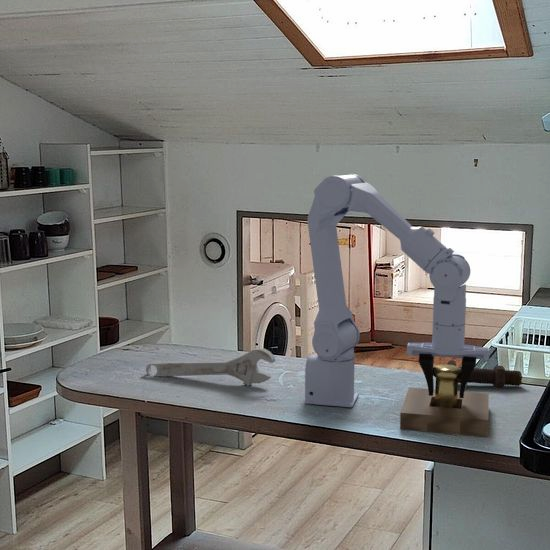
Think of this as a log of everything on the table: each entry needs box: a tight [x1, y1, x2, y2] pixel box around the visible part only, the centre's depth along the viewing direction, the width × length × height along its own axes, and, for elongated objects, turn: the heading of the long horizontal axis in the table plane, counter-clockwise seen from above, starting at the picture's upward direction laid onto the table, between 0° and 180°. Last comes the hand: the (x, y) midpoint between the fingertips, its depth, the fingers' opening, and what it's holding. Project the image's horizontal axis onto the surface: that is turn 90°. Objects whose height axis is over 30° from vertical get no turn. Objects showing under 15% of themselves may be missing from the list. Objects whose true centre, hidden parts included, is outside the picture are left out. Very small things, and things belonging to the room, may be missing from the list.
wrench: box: [145, 347, 276, 387], centre depth 168 cm, size 8×2×30 cm
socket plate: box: [399, 386, 490, 437], centre depth 145 cm, size 15×15×3 cm
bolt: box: [447, 360, 523, 389], centre depth 164 cm, size 6×5×15 cm
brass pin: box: [433, 363, 461, 409], centre depth 145 cm, size 5×5×8 cm
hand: (446, 395), depth 145 cm, fingers closed on brass pin, 5 cm apart
